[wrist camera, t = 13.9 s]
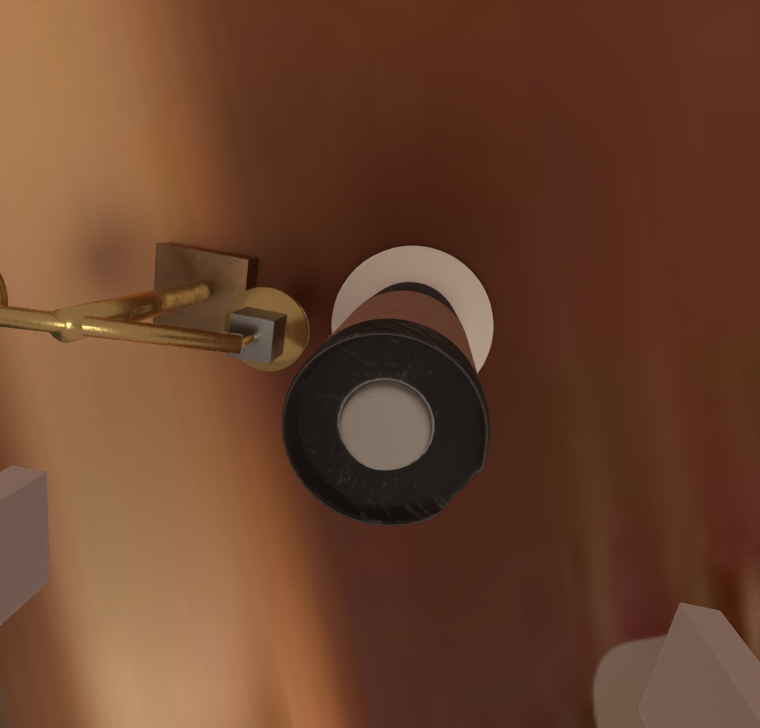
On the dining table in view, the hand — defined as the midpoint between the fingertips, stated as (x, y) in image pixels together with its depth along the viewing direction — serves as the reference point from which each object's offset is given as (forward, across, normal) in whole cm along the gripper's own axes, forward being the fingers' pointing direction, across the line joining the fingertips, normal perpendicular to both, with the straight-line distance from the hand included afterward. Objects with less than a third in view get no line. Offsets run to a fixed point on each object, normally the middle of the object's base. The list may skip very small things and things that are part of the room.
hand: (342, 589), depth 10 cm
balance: (+29, -16, 0) cm, 33 cm away
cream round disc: (+29, 0, 0) cm, 29 cm away
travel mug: (+28, 0, 0) cm, 28 cm away
